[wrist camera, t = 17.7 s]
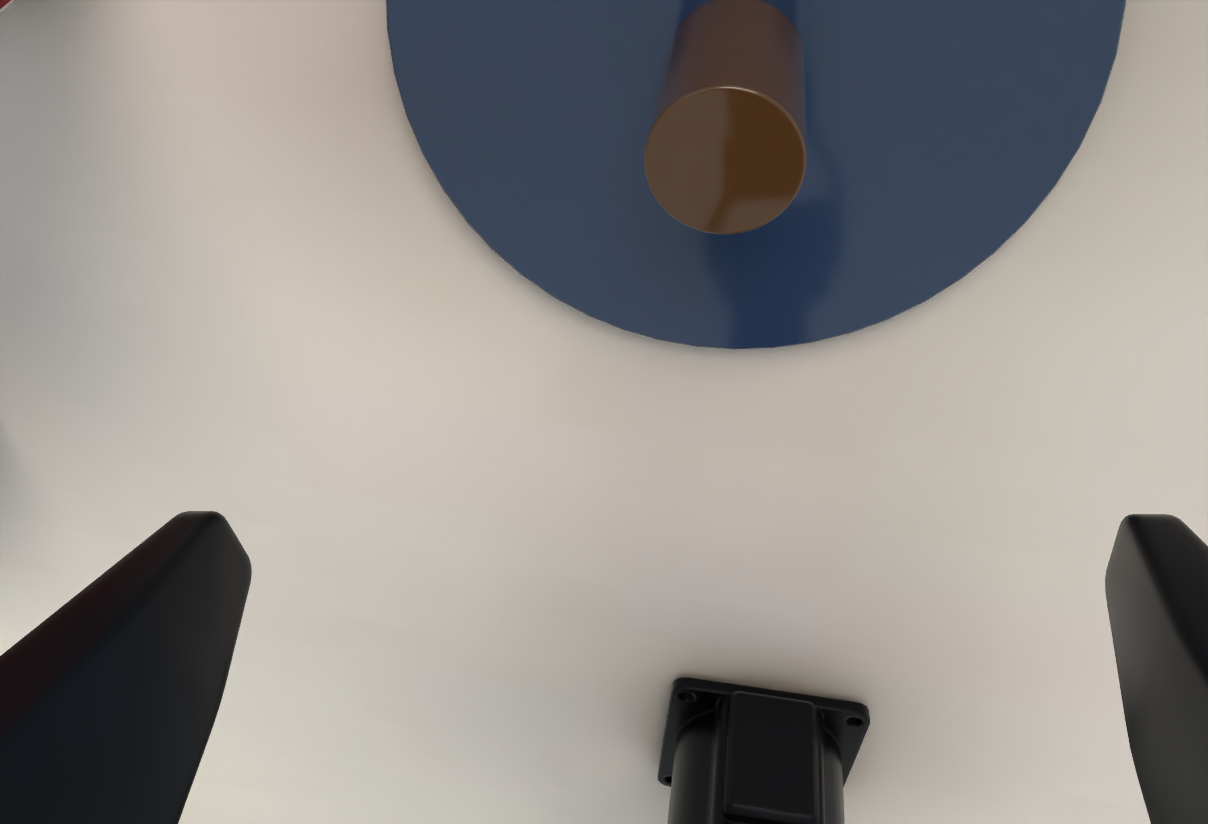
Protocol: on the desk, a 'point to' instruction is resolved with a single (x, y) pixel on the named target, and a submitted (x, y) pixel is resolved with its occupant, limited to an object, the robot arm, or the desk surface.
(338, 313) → the desk surface
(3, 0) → the soda can
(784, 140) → the lid
